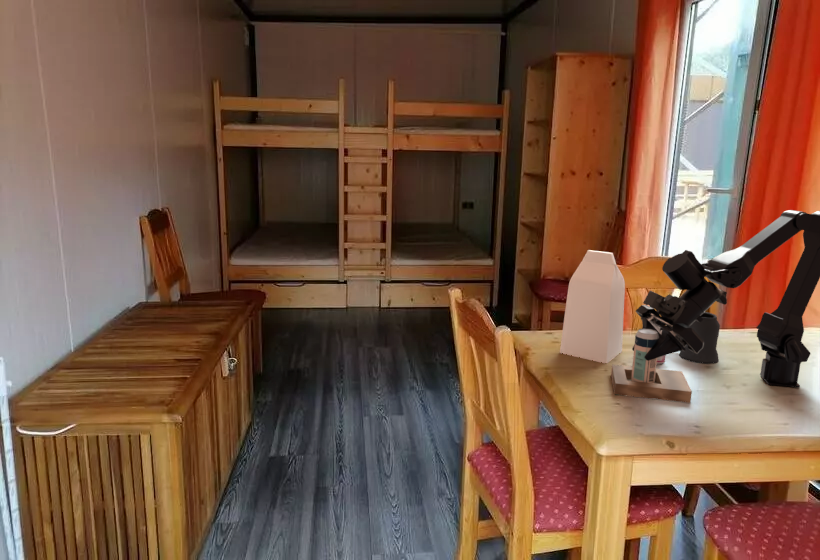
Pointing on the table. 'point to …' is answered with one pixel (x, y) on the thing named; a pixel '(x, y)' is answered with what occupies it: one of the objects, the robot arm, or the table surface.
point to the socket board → (651, 385)
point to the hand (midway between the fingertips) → (639, 355)
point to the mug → (709, 335)
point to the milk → (594, 309)
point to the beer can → (641, 366)
